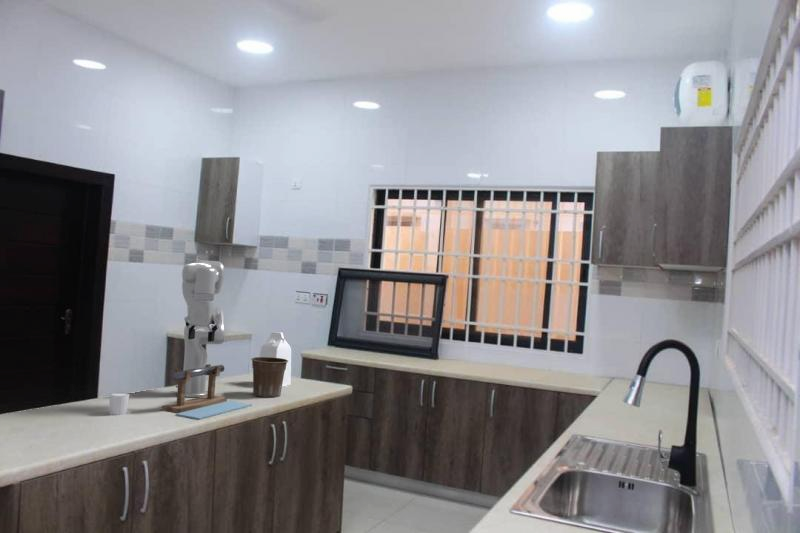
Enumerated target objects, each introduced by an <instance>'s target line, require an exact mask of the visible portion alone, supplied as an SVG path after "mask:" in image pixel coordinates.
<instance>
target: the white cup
mask: <svg viewBox="0 0 800 533" xmlns="http://www.w3.org/2000/svg"><path fill="white" fill-rule="evenodd" d="M108 396H109V398H108V399H109V414H110V415H112V414H113V415H112V416H120V415H121V416H122V415H123V416H124V415H126V414H127V412H128V405H129V401H130V400H129V399H130V393H128V392H113V393H110V394H109V395H108Z"/></svg>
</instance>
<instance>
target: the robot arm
mask: <svg viewBox="0 0 800 533" xmlns="http://www.w3.org/2000/svg"><path fill="white" fill-rule="evenodd" d="M224 276H225V266H224V265H223V263H222V262H221V261H217V260H204V259H200V260H196V261H194V262H193V263H186V264H185V265H184V266H183V267H182V271H181V278H182V284H181V288H182V289H181V290H182V295H183V299H184V302H185V303H186V305H187V316H185V317H184V322H185V326H184V329H183V338H184V357H183V358H184V359H183V370H182V371H185V370H191V369H197V368H204V367H206V365H207V364H208V352H207V350H206V349H205V348H204V347H203V346H202V345H221V344H223V343H224V342H225V340H226V337H227V336H226V335H227V327H226V316H225V312H224V310H223V309H222V308H221V307H217V306H216V302H215V301H214V300H215V295H218V294H220V293H221V290H222V286H223V282H224ZM206 376H207V375H201V376H195V377H190V382H186V386H185V398H199V397H204V396H207V394H208V390H206V383H207V382H206V380H207V377H206ZM175 388H177V389H178V384H176V385H175Z"/></svg>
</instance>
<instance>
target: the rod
mask: <svg viewBox="0 0 800 533" xmlns="http://www.w3.org/2000/svg"><path fill="white" fill-rule="evenodd" d="M215 366H220V373H223V372H224V371H225V366H224V365H223V364H217V365H211V366H210V367H204V368H197V369H191V370H190V371H191V374H190V377H195V376H201V375H206V376H208V375H207V374H212V373H215ZM185 371H188V370H185ZM185 371H183V370H181V371H178V372H175V371H174V372H172V373H171V376H170V377H171V379H172V380H173V381H176V380H178V379H184V378H185Z"/></svg>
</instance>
